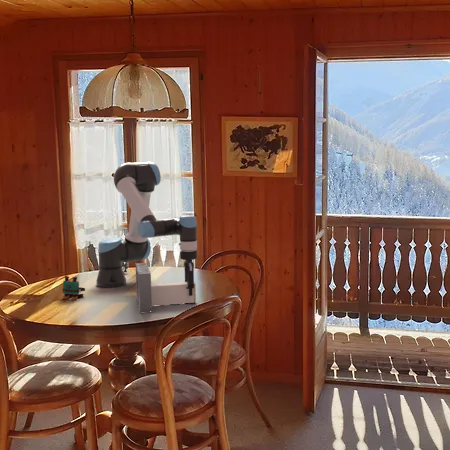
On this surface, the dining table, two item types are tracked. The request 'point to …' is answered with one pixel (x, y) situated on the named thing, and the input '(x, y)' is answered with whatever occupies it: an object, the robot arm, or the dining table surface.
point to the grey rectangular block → (170, 293)
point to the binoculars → (72, 288)
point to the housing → (143, 287)
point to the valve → (125, 267)
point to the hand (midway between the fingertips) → (189, 300)
